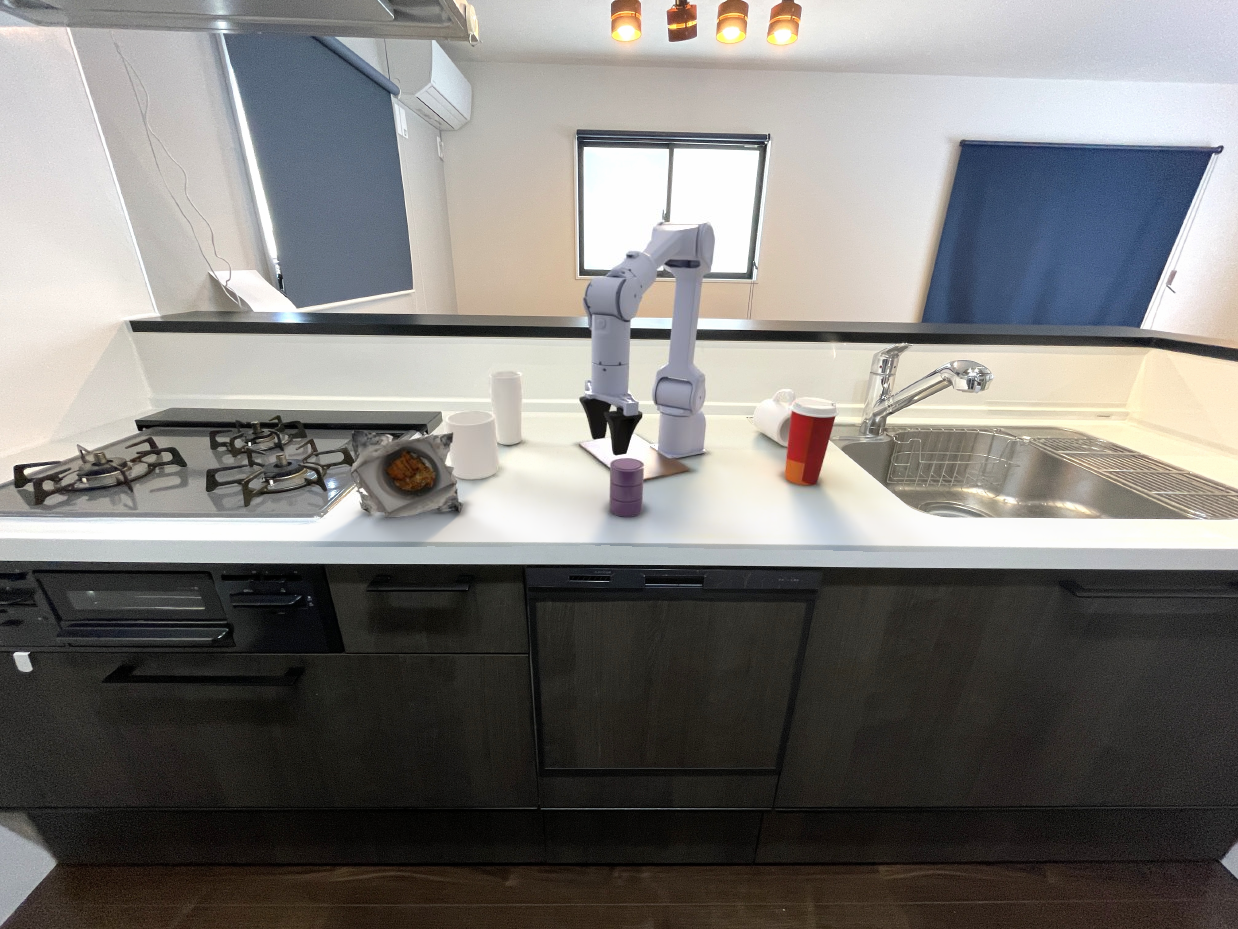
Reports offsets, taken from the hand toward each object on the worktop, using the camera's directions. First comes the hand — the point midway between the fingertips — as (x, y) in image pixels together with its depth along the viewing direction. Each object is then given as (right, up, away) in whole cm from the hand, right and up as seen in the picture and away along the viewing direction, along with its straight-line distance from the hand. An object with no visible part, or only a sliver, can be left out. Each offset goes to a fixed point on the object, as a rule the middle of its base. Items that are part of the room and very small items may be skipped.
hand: (608, 445), depth 80 cm
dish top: (+3, -5, -1) cm, 6 cm away
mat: (+4, -1, +22) cm, 23 cm away
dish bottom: (+3, -10, +1) cm, 11 cm away
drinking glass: (-22, +2, +28) cm, 36 cm away
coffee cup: (+36, -6, +14) cm, 39 cm away
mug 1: (-26, -4, +15) cm, 30 cm away
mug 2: (+38, +3, +34) cm, 51 cm away
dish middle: (+3, -8, 0) cm, 8 cm away
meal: (-31, -11, -1) cm, 33 cm away
